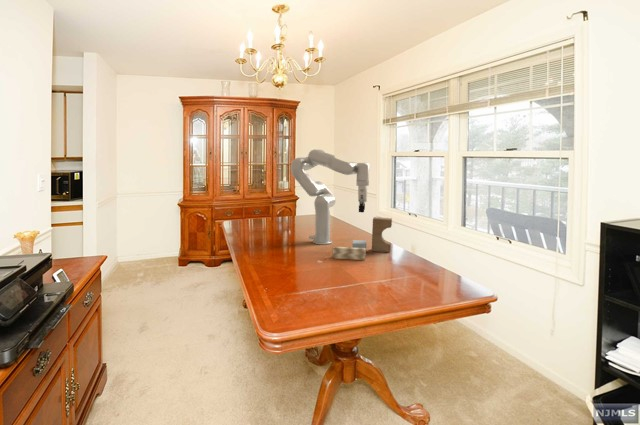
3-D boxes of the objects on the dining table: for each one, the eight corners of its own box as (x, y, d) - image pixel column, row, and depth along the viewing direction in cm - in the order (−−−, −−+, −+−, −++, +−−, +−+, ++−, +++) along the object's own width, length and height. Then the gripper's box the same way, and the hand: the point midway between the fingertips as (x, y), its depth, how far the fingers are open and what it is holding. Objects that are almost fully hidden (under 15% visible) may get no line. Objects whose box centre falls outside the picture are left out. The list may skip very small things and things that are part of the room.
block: (352, 253, 214) (352, 243, 213) (353, 249, 222) (353, 240, 221) (365, 253, 213) (366, 243, 212) (366, 250, 221) (366, 240, 220)
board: (332, 258, 203) (332, 247, 202) (333, 256, 206) (333, 246, 205) (365, 260, 200) (365, 249, 199) (365, 258, 203) (365, 248, 202)
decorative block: (390, 250, 221) (392, 218, 218) (390, 252, 215) (391, 219, 212) (372, 248, 224) (373, 217, 221) (371, 251, 218) (372, 218, 215)
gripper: (368, 184, 211) (367, 213, 214) (369, 182, 228) (368, 209, 231) (355, 184, 213) (354, 213, 215) (357, 182, 229) (356, 208, 232)
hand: (361, 210), depth 223 cm, fingers open, 9 cm apart
